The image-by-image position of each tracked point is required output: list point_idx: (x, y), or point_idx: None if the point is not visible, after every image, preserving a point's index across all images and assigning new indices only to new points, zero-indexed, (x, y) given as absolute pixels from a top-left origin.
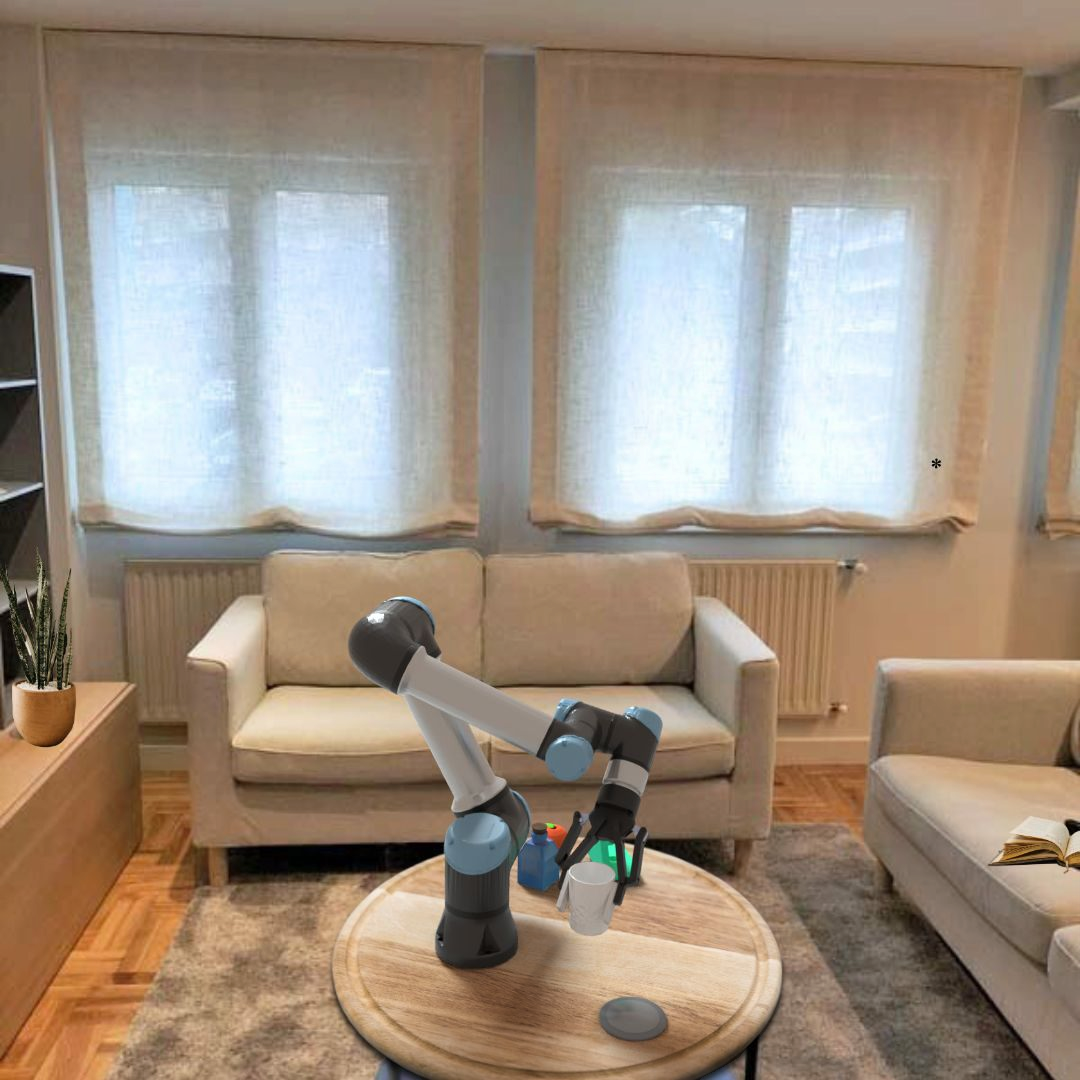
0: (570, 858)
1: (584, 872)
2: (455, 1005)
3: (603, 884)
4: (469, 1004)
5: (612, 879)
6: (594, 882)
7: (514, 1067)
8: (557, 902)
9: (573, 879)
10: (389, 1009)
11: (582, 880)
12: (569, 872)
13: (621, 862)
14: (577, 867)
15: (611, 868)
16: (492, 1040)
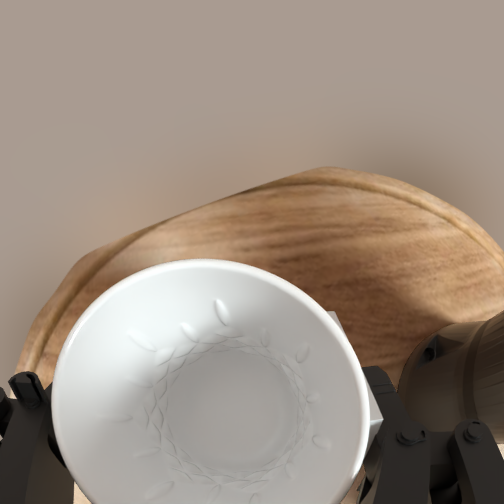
0: (413, 481)
1: (289, 500)
2: (394, 255)
3: (92, 304)
4: (382, 265)
5: (55, 369)
6: (234, 501)
7: (263, 189)
8: (336, 318)
9: (281, 282)
10: (438, 220)
11: (292, 480)
12: (343, 335)
13: (2, 475)
14: (335, 476)
15: (92, 500)
16: (312, 216)
